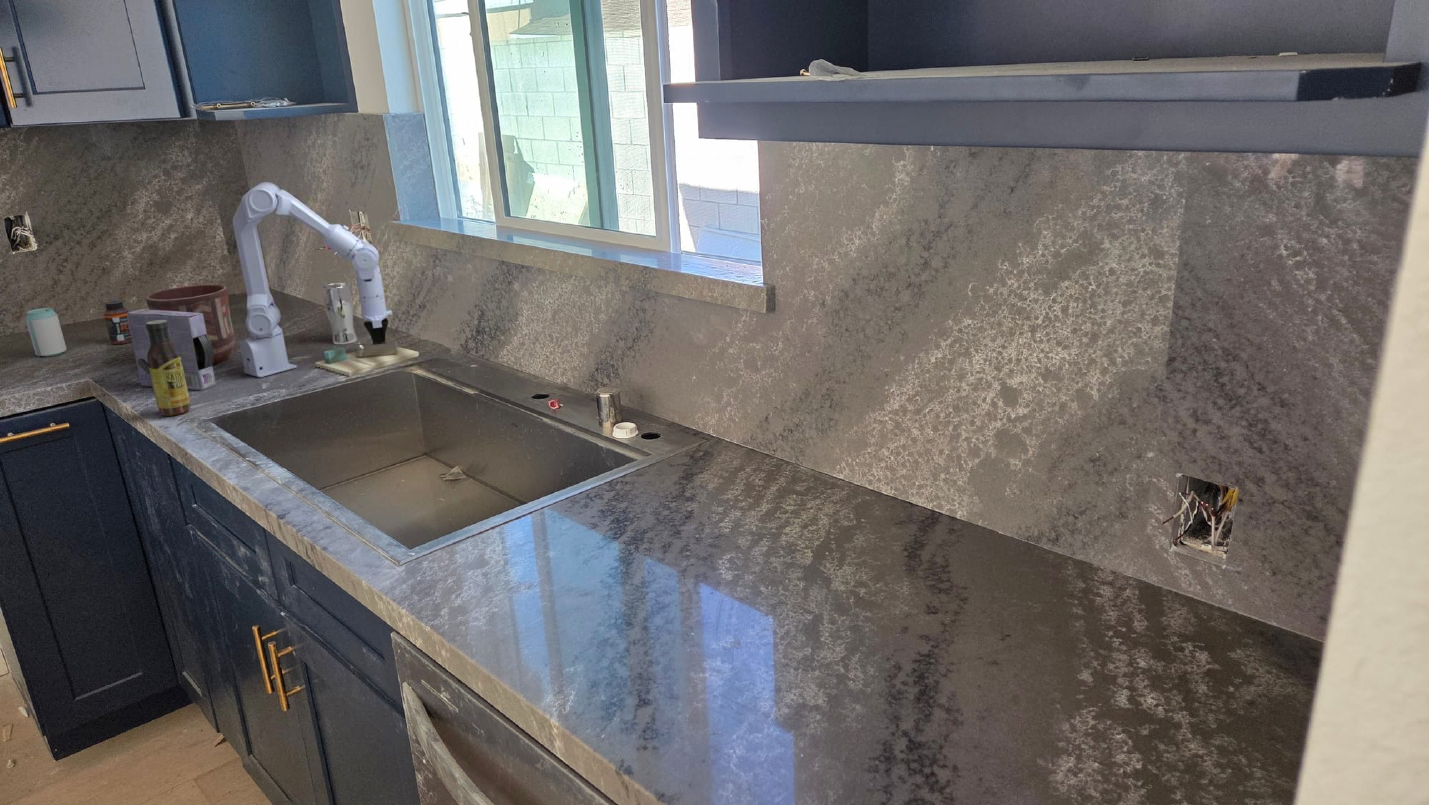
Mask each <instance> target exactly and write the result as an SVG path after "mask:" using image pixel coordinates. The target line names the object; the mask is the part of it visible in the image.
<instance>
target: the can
mask: <svg viewBox="0 0 1429 805" xmlns="http://www.w3.org/2000/svg"><path fill="white" fill-rule="evenodd" d="M26 314H27V315H26V317H25V322H26V324H27V329H28V333H29V337H30V338H31V339H30V340H31V343H32V346H33V349H34V354H35V355H36V356H37V357H40V356H52V357H56V356H55V355H57V356H59V355H58V354H60V355H62V354H61V353H63V352H64V353H65V352H66V351H67V346H66V342H65V338H64V334H63V331H62V327H61V324H60V321H59V317H58V313H57V312H55V311H54V308H53V307H42V308H35V309H32V310H28V311H27V312H26ZM64 353H63V354H64Z"/></svg>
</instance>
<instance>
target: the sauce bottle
mask: <svg viewBox="0 0 1429 805" xmlns="http://www.w3.org/2000/svg"><path fill="white" fill-rule="evenodd" d="M146 329H147V330H148V333H149V338H150V343H151V346H150V349H149V351H148V354H147V359H148V363H149V370H150V375H151V379H152V384H153V387H152V388H153V392H154V393H153V394H154V397H155V401H156V406H157V409H158V412H159V414H160V416H164V417H172V416H178V415H181V414H182V415H183V414H185V413H187V412H189V411H190V409H191V401H190V400H191V399H190V394H189V389H187V384H186V379H185V375H184V370H183V365H182V361H181V357H180V355H179V354H178V352H177V350H176V349H175V347H174V345H173V344H172V342H171V339H170V336H169V332H168V323H167V321H166V320H155V321H150V322H147V323H146Z"/></svg>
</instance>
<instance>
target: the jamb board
mask: <svg viewBox="0 0 1429 805" xmlns="http://www.w3.org/2000/svg"><path fill="white" fill-rule="evenodd" d="M397 348H398V353H397V354H391V355H380V356H369V357H362V358H357V357H356V353H355V351H352V352H348V353H347V352H346V349H345V348H344V347H341V346H340V347H337V348H332V349H329V350H325V351H323V355H324V359H323V360H320V361H316V362H314V364H315V367H316V366H317V367H316V368H319V367H320V368H319V369H322V368H325V369H324V370H326V369H328V370H327V371H329V370H330V371H329V372H333V371H334V372H333V373H337V374H340V375H343V374H344V376H347V377H352V376H356V375H360V374H363V373H366V372H369V371H373V370H376V369H380V368H382V367H387V366H389V365H392V364H396V363H399V362H403V361H407V360H409V359H414V358H416V357H419V355H420V354H419V351H415V350H412V349H407V348H403V347H400V346H399V347H398V346H397Z"/></svg>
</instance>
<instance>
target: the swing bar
mask: <svg viewBox="0 0 1429 805" xmlns="http://www.w3.org/2000/svg"><path fill="white" fill-rule="evenodd" d="M353 346H354V347H353V348H354V352H355V353H356V357H357V358H362V357H369V356H380V355H391V354H397V353H398V348H397V347H398V342H397V340H391V341H385V342H377V343H373V342H368V343H367V342H366V343H365V342H361V341H360V342H359V341H358V342H357V343H354V344H353Z"/></svg>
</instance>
